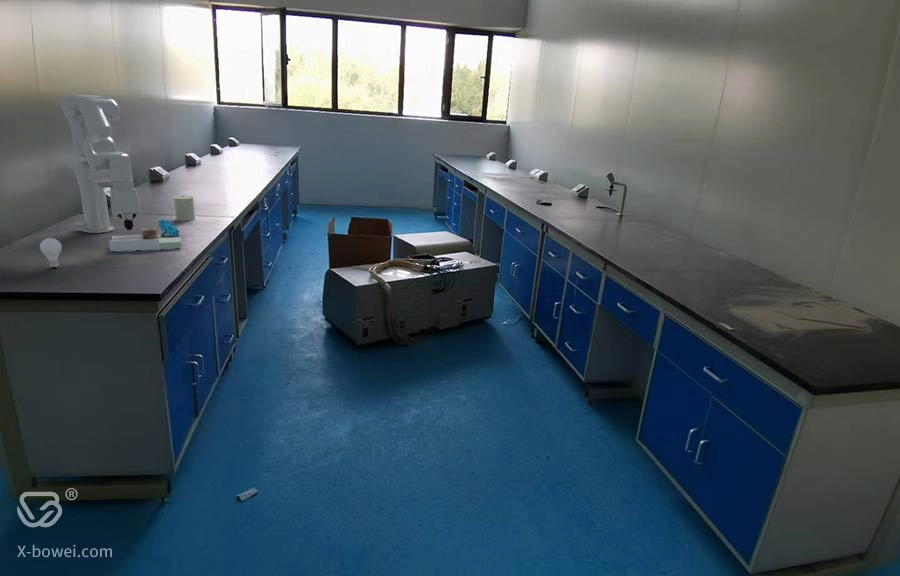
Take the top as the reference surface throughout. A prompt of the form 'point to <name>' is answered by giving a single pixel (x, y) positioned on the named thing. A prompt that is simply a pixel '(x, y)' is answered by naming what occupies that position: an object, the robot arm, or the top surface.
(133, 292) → the top surface
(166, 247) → the trough
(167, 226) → the gear
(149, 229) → the block
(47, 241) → the lightbulb
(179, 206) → the can
